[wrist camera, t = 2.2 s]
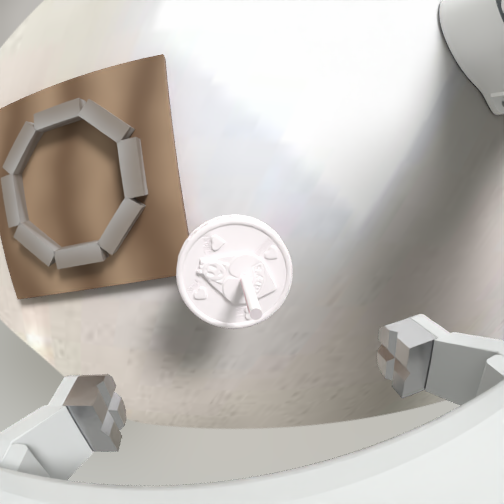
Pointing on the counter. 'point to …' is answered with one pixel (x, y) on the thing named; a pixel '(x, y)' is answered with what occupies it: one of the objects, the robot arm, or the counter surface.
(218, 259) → the smoothie
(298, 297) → the counter surface
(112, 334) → the counter surface
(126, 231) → the socket
